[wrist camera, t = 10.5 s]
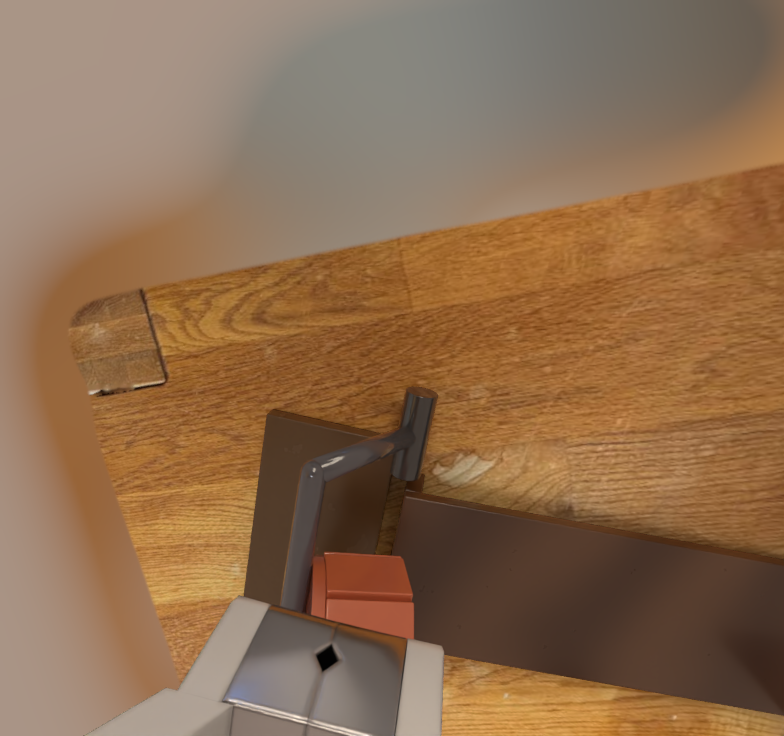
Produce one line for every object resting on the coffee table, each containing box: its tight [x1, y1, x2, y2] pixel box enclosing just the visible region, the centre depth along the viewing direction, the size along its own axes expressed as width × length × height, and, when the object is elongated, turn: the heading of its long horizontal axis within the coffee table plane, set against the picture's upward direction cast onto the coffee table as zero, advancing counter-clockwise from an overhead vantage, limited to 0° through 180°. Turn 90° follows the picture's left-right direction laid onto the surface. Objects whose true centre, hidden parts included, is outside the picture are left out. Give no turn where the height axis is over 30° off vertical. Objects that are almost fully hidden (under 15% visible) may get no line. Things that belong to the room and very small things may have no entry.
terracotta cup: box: [280, 387, 438, 640], centre depth 26 cm, size 11×16×7 cm
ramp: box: [391, 474, 784, 715], centre depth 31 cm, size 26×10×3 cm, turn 79°
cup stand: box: [244, 409, 393, 606], centre depth 29 cm, size 8×14×10 cm, turn 170°
